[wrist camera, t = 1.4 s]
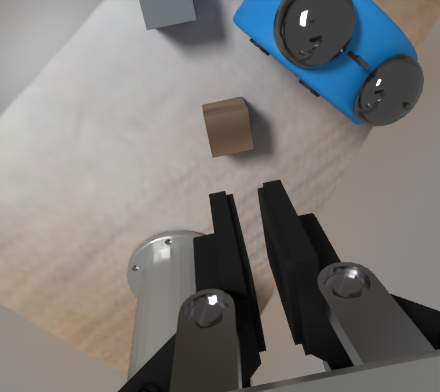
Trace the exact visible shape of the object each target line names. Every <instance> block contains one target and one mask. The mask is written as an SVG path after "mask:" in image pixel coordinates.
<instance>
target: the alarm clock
mask: <svg viewBox="0 0 440 392" xmlns="http://www.w3.org/2000/svg"><path fill="white" fill-rule="evenodd" d="M233 21H234V23H235V24H236V25H237V26H238V27H239V28H240V29H241V30H242V31H244V32H245V33H246V34H247V35H248V36H249V37H251V39H250V41H251V42H252V43H253V44H254V45H256V46H257V47H258V48H259V49H260V50H262V51H263V52H264V53H265V54H267V55H269V54H271V55H272V56H273V57H275V58H276V59H277V60H278V61H279V62H281V63H282V64H283V65H284V66H286V67H287V68H288V69H289V70H290V71H292V72H293V73H294V74H295V75H296V76H298V77H299V78H300V80H299V82H300V83H301V84H302V85H303V86H304V87H306V88H308V89H309V90H310V91H311V92H312V93H313V94H314V95H316V96H317V97H319V96H320V95H321V96H322V97H323V98H324V99H326V100H327V101H328V102H329V103H331V104H332V105H333V106H334V107H336V108H337V109H338V110H339V111H341V112H342V113H343V114H344V115H345V116H347V117H348V118H349V119H351V120H352V121H353V122H354V123H356V124H358V125H361V124H363V123H365V124H367V125H371V126H384V125H388V124H391V123H394V122H396V121H397V120H399V119H401V118H402V117H404V116H405V115H406V114H407V113H408V112H410V110H411V109H412V108H413V107H414V106H415V104H416V103H417V101H418V99H419V97H420V95H421V93H422V90H423V84H424V76H423V71H422V68H421V67H420V64H419V63H418V62H417V61H418V59H417V55H416V51H415V49H414V47H413V46H412V44H411V42H410V41H409V40H408V38H407V37H406V36H405V34H404V33H403V32H402V31H401V29H400V28H399V27H398V26H397V25H396V24H395V23H394V22H393V21H392V20H391V19H390V18H389V16H388V15H387V14H386V13H385V12H383V11H382V10H381V9H380V8H379V7H378V6H377V5H376V4H375V3H374V2H373V1H372V0H244V2H243V3H242V5H241V6H240V7H239V9H238V10H237V12H236V13H235V15H234V17H233Z"/></svg>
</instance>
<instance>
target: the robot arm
mask: <svg viewBox="0 0 440 392" xmlns="http://www.w3.org/2000/svg"><path fill="white" fill-rule="evenodd" d="M258 197H259V203H260V210H261V216H262V223H263V229H264V236H265V242H266V249H267V255H268V259H269V263H270V266H271V270H272V273H273V276H274V279H275V282H276V286H277V289H278V292H279V295H280V298H281V302H282V305H283V308H284V311H285V314H286V317H287V321H288V324H289V327H290V330H291V333H292V337H293V340H294V343H295V344H296V345H297V344H302V345H303V349H304V352H305V355H309V354H312V355H314V356H316V357H318V358H320V359H322V360H323V364H324V367H325V370H326V372H322V373H317V374H312V375H307V376H302V377H297V378H292V379H288V380H282V381H277V382H272V383H267V384H262V385H257V386H253V383H252V379H251V377H252V375H253V374H254V372H255V371H256V370H257V368H258V367H259V366H260V364H261V360H260V355H259V352H262V351H266V346H265V341H264V335H263V330H262V325H261V319H260V314H259V309H258V303H257V298H256V292H255V287H254V282H253V277H252V272H251V267H250V263H249V259H248V255H247V251H246V247H245V243H244V238H243V234H242V230H241V226H240V222H239V218H238V214H237V210H236V206H235V202H234V198H233V194H229V195H226V192H225V191H222V192H217V193H213V194H209V198H210V205H211V213H212V220H213V227H214V233H213V234H208V235H202V234H199V233H196V232H189V231H172V232H165V233H162V234H159V235H156V236H154V237H152V238H150V239H148V240H146V241H145V242H144V243H143V244H141V245H140V246H139V247H138V248H137V249H136V251H135V252H134V253H133V255H132V257H131V259H130V262H129V266H128V273H127V278H128V284H129V287H130V289H131V291H132V292H133V294H134V295H135V297H136V298H137V305H136V313H135V321H134V329H133V337H132V345H131V353H130V360H129V368H128V377H127V383H126V384H125V385H124V386H123V387H122V388H121V389H120V390H119V391H118V392H440V311H438V310H435V309H432V308H429V307H426V306H423V305H420V304H418V303H415V302H412V301H409V300H406V299H403V298H401V297H398V296H395V295H392V294H390V293H389V292H388V291H387V290H386V288H385V287H384V286H383V285H382V283H381V282H380V281H379V280H378V278H377V277H376V276H375V275H374V274H373V273H372V272H371V271H370V270H369V269H368V268H366V267H364V266H362V265H360V264H356V263H352V262H341V261H340V259H339V258H338V256H337V254H336V252H335V250H334V249H333V247H332V245H331V243H330V242H329V240H328V238H327V236H326V234H325V233H324V231H323V229H322V227H321V226H320V224H319V222H318V220H317V218H316V217H315V215H314V214H313V213H310V214H306V215H301V216H298V215H297V213H296V211H295V209H294V207H293V205H292V203H291V201H290V199H289V197H288V195H287V193H286V191H285V189H284V187H283V185H282V183H281V181H280V180H276V181H271V182H266V183H263V188H258Z"/></svg>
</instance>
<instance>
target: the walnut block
mask: <svg viewBox="0 0 440 392" xmlns="http://www.w3.org/2000/svg"><path fill="white" fill-rule="evenodd" d="M202 108H203V114H204V119H205V124H206V129H207V133H208V138H209V143H210V147H211V152H212V157H213V158H214V157H218V156H223V155H228V154H233V153H238V152H243V151H247V150H252V149H254V146H253V139H252V133H251V126H250V119H249V113H248V108H247V106H246V104H245V102H244V100H243V98H242V97H238V98H233V99H228V100H223V101H219V102H214V103H209V104H204V105H202Z"/></svg>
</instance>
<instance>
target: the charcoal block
mask: <svg viewBox="0 0 440 392" xmlns="http://www.w3.org/2000/svg"><path fill="white" fill-rule="evenodd" d="M139 1H140V5H141V9H142V12H143V16H144V20H145V24H146V28H147V30H151V29H155V28H160V27H165V26H170V25H174V24H179V23H184V22H188V21H193V20H196V15H195V10H194V5H193V0H139Z"/></svg>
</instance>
